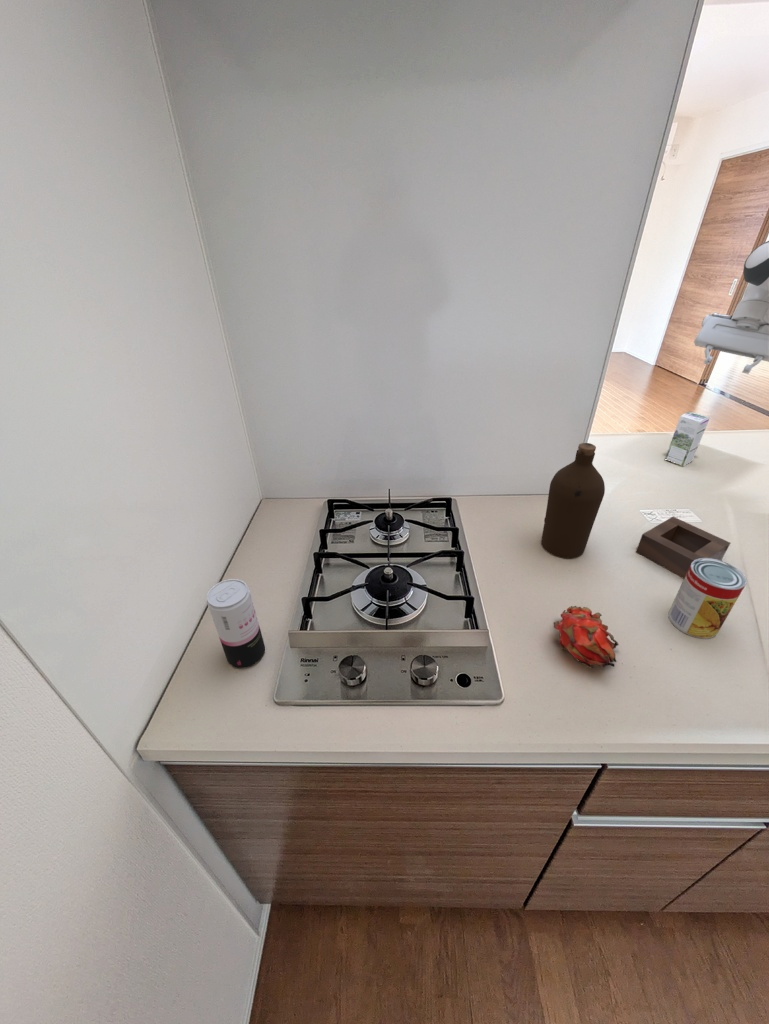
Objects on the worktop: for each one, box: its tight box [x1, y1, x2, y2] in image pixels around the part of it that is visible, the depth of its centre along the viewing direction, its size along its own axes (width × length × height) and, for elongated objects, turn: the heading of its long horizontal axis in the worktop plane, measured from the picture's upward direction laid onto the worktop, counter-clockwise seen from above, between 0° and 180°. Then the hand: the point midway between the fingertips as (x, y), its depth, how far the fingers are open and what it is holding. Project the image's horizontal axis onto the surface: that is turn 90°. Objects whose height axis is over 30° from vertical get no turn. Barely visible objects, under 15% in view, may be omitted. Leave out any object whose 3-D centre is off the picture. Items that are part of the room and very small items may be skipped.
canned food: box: [667, 558, 748, 639], centre depth 77 cm, size 8×8×12 cm
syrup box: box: [664, 411, 711, 467], centre depth 128 cm, size 6×6×14 cm
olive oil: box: [540, 442, 606, 559], centre depth 93 cm, size 11×11×25 cm
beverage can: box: [206, 578, 266, 669], centre depth 73 cm, size 7×6×15 cm
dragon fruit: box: [553, 605, 620, 669], centre depth 73 cm, size 8×8×12 cm
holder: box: [635, 516, 731, 579], centre depth 94 cm, size 12×12×5 cm
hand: (725, 367), depth 120 cm, fingers open, 8 cm apart
